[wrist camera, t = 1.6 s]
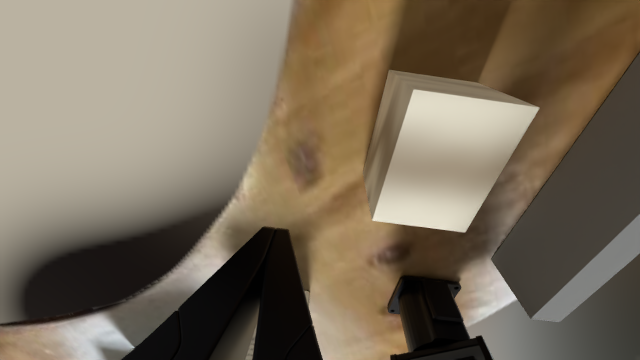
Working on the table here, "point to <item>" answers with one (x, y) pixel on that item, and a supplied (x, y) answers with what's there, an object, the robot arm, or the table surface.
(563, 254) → the grey flat board
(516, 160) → the table surface
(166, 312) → the table surface
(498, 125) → the pale block
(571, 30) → the table surface
